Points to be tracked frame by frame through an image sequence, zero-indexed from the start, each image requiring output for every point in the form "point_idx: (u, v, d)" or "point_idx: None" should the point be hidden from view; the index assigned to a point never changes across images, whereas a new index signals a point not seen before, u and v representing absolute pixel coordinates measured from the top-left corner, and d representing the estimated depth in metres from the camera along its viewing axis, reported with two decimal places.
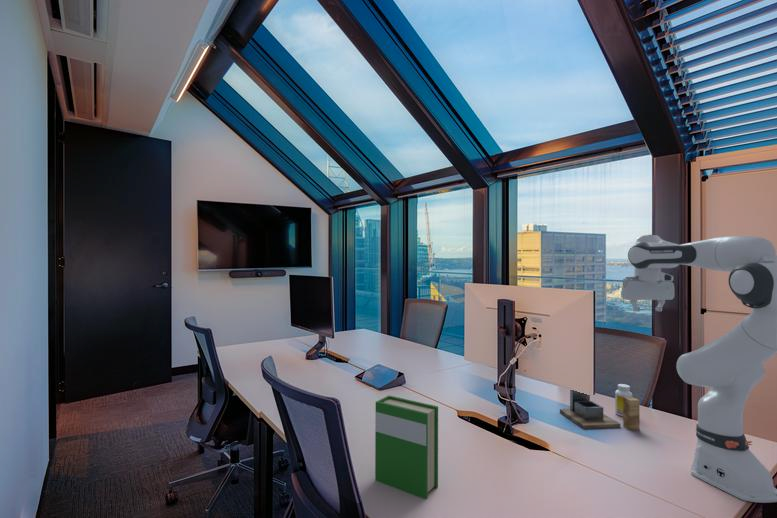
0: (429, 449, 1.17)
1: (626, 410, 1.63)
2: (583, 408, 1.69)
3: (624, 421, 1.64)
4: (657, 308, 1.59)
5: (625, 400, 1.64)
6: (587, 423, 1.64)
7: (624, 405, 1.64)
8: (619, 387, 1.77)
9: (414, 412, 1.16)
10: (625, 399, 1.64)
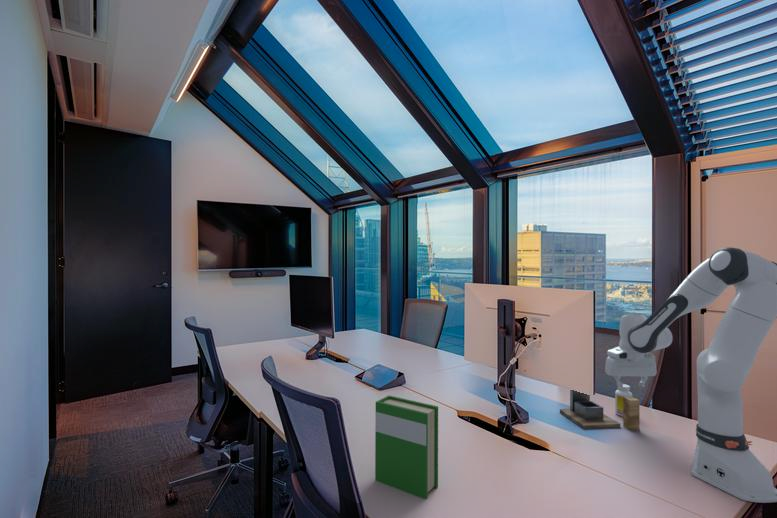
0: (429, 449, 1.17)
1: (626, 410, 1.63)
2: (583, 408, 1.69)
3: (624, 421, 1.64)
4: None
5: (625, 400, 1.63)
6: (587, 423, 1.64)
7: (624, 405, 1.64)
8: (619, 387, 1.77)
9: (414, 412, 1.16)
10: (625, 399, 1.64)
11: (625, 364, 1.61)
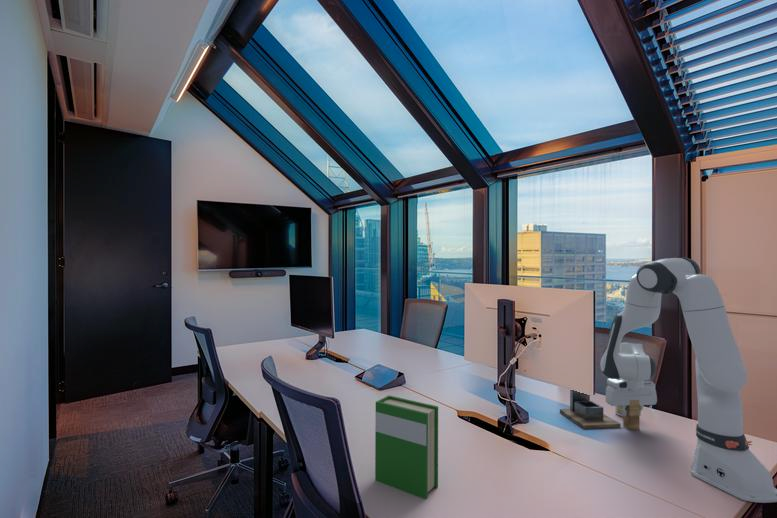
0: (429, 449, 1.17)
1: (626, 410, 1.63)
2: (583, 408, 1.69)
3: (624, 421, 1.64)
4: None
5: None
6: (587, 423, 1.64)
7: None
8: None
9: (414, 412, 1.16)
10: None
11: (625, 393, 1.61)
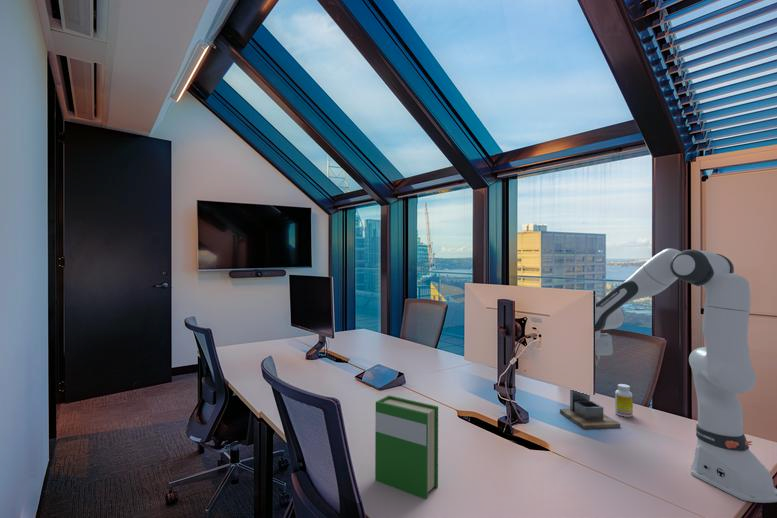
0: (429, 449, 1.17)
1: None
2: (583, 408, 1.69)
3: None
4: None
5: None
6: (587, 423, 1.64)
7: None
8: (619, 387, 1.77)
9: (414, 412, 1.16)
10: None
11: None
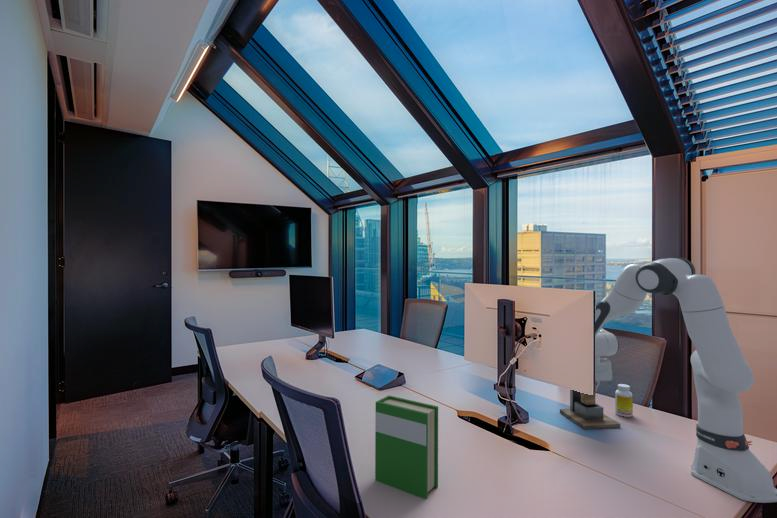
0: (429, 449, 1.17)
1: None
2: (583, 408, 1.69)
3: (581, 396, 1.73)
4: None
5: None
6: (587, 423, 1.64)
7: None
8: (619, 387, 1.77)
9: (414, 412, 1.16)
10: None
11: None
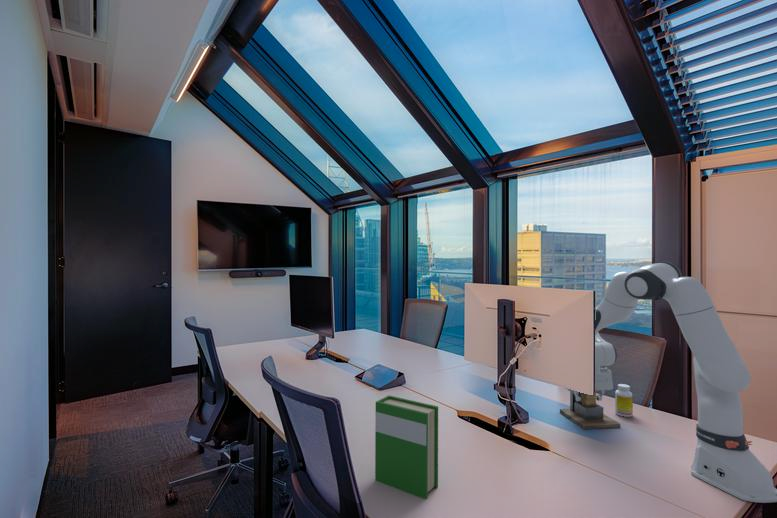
0: (429, 449, 1.17)
1: (584, 399, 1.72)
2: (583, 408, 1.69)
3: None
4: None
5: None
6: (587, 423, 1.64)
7: (582, 395, 1.73)
8: (619, 387, 1.77)
9: (414, 412, 1.16)
10: None
11: None
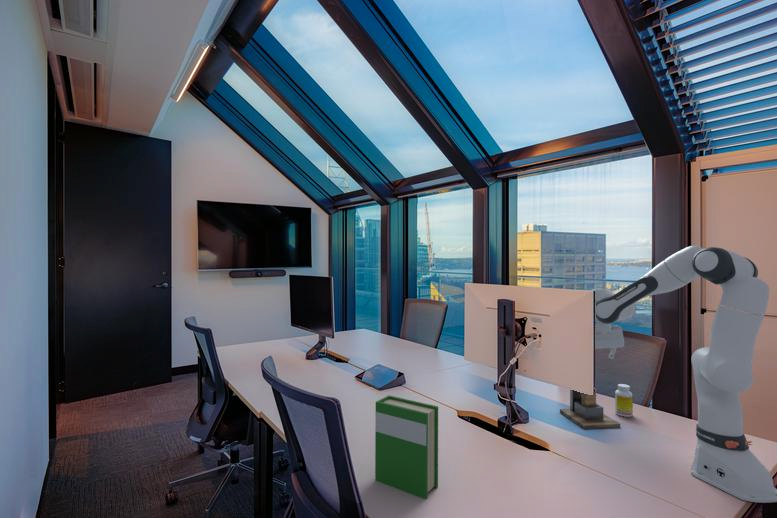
0: (429, 449, 1.17)
1: (584, 399, 1.72)
2: (583, 408, 1.69)
3: None
4: None
5: None
6: (587, 423, 1.64)
7: (582, 395, 1.73)
8: (619, 387, 1.77)
9: (414, 412, 1.16)
10: None
11: None
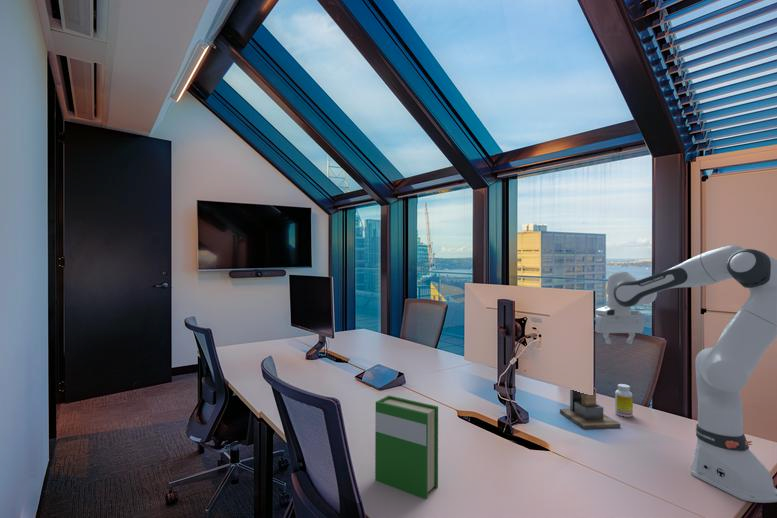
0: (429, 449, 1.17)
1: (584, 399, 1.72)
2: (583, 408, 1.69)
3: None
4: None
5: None
6: (587, 423, 1.64)
7: (582, 395, 1.73)
8: (619, 387, 1.77)
9: (414, 412, 1.16)
10: None
11: (613, 321, 1.67)
